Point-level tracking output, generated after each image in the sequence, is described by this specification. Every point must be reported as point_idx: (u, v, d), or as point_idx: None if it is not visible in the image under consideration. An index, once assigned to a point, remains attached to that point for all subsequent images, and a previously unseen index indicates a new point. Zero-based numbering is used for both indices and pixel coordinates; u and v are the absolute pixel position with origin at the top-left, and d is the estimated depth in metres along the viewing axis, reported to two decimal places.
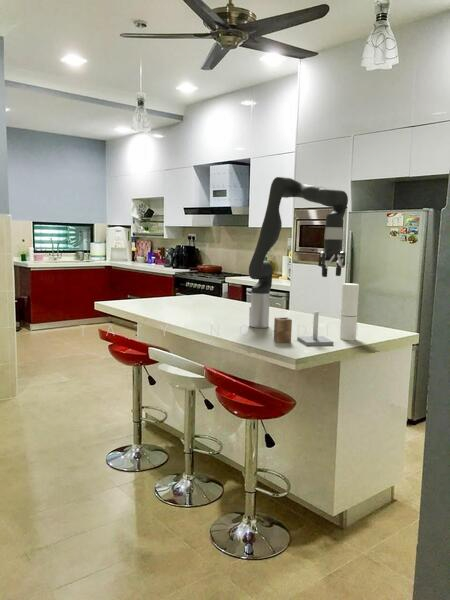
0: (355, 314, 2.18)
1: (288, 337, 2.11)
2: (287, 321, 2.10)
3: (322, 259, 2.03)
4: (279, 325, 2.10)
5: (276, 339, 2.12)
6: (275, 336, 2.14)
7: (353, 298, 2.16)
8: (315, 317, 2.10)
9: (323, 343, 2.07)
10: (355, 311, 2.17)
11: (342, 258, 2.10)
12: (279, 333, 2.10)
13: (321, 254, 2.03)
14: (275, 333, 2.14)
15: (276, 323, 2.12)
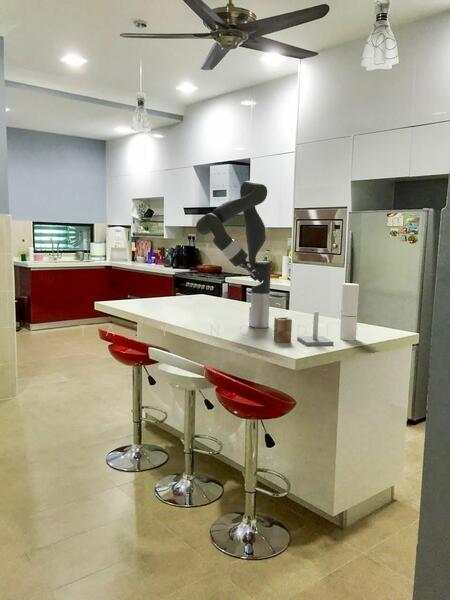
0: (355, 314, 2.18)
1: (288, 337, 2.11)
2: (287, 321, 2.10)
3: None
4: (279, 325, 2.10)
5: (276, 339, 2.12)
6: (275, 336, 2.14)
7: (353, 298, 2.16)
8: (315, 317, 2.10)
9: (323, 343, 2.07)
10: (355, 311, 2.17)
11: None
12: (279, 333, 2.10)
13: None
14: (275, 333, 2.14)
15: (276, 323, 2.12)
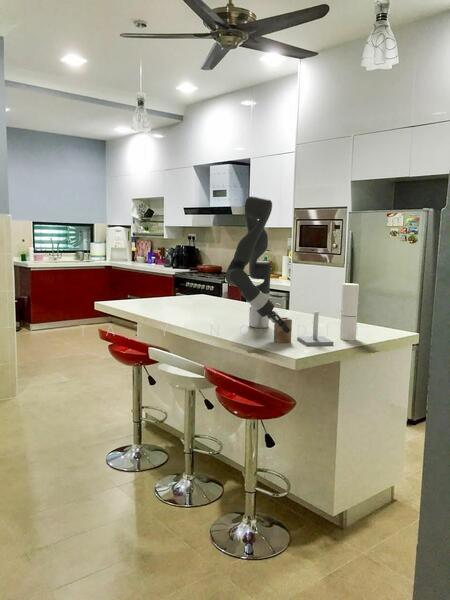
0: (355, 314, 2.18)
1: (288, 337, 2.11)
2: (287, 321, 2.10)
3: None
4: None
5: (276, 339, 2.12)
6: (275, 336, 2.14)
7: (353, 298, 2.16)
8: (315, 317, 2.10)
9: (323, 343, 2.07)
10: (355, 311, 2.17)
11: None
12: (279, 333, 2.10)
13: None
14: (275, 333, 2.14)
15: None
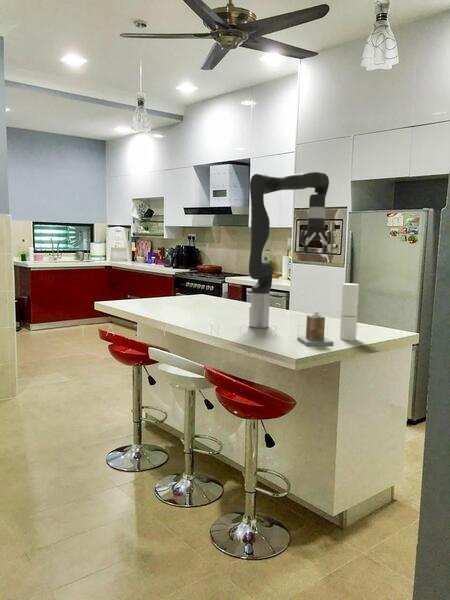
0: (355, 314, 2.18)
1: (321, 335, 2.09)
2: (320, 319, 2.08)
3: (301, 236, 2.19)
4: (312, 323, 2.08)
5: (309, 337, 2.10)
6: (308, 334, 2.12)
7: (353, 298, 2.16)
8: None
9: (323, 343, 2.07)
10: (355, 311, 2.17)
11: (328, 237, 2.22)
12: (312, 331, 2.08)
13: (301, 232, 2.20)
14: (307, 331, 2.12)
15: (309, 321, 2.10)
